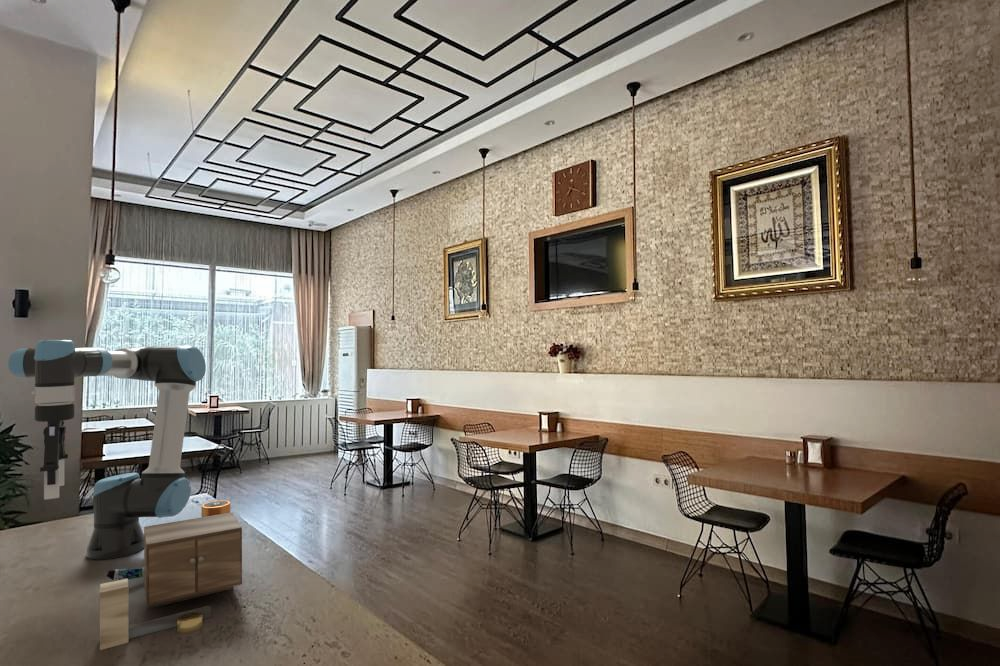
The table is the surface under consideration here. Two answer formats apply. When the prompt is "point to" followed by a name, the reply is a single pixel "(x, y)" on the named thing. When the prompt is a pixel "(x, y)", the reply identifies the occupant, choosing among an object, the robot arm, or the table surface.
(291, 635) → the table surface
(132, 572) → the knife
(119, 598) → the blade tool
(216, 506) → the battery
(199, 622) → the token
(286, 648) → the table surface
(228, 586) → the cabinet
